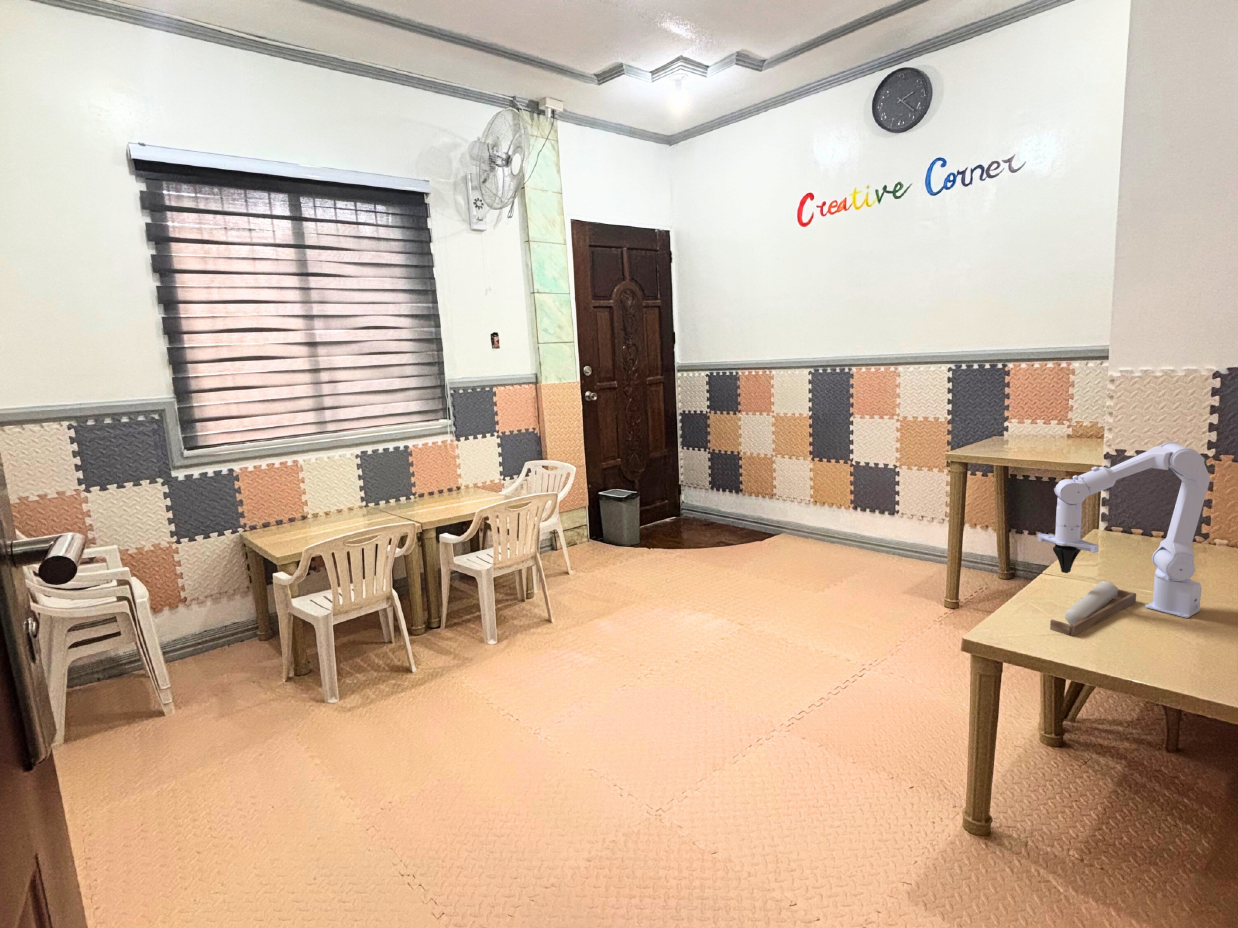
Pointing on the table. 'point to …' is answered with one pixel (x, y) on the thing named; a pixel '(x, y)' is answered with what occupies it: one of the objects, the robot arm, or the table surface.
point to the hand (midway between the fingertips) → (1065, 571)
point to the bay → (1095, 615)
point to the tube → (1092, 602)
